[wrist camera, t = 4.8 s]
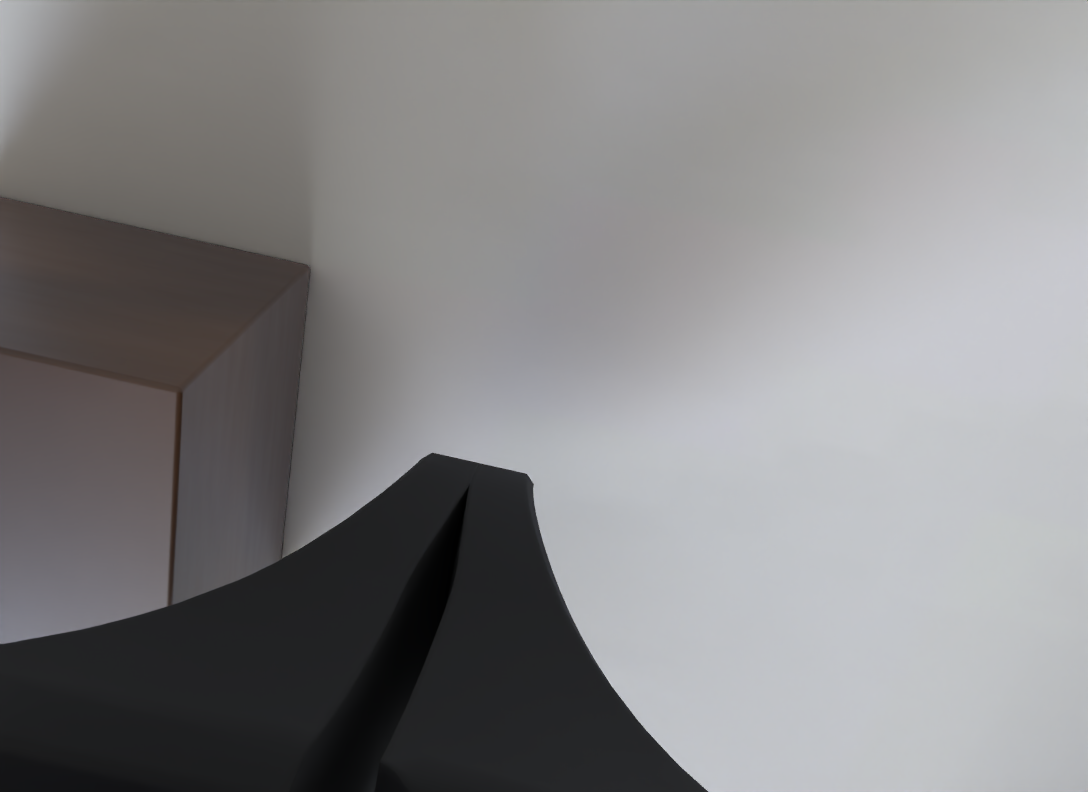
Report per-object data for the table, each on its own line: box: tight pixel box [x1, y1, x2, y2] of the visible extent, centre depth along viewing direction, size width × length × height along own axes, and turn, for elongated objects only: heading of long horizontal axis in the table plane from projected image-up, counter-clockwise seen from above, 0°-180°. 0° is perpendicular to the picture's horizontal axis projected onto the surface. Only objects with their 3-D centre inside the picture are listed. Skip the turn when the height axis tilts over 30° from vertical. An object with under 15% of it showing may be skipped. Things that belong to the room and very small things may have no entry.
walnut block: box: [0, 197, 310, 644], centre depth 12 cm, size 4×5×4 cm
